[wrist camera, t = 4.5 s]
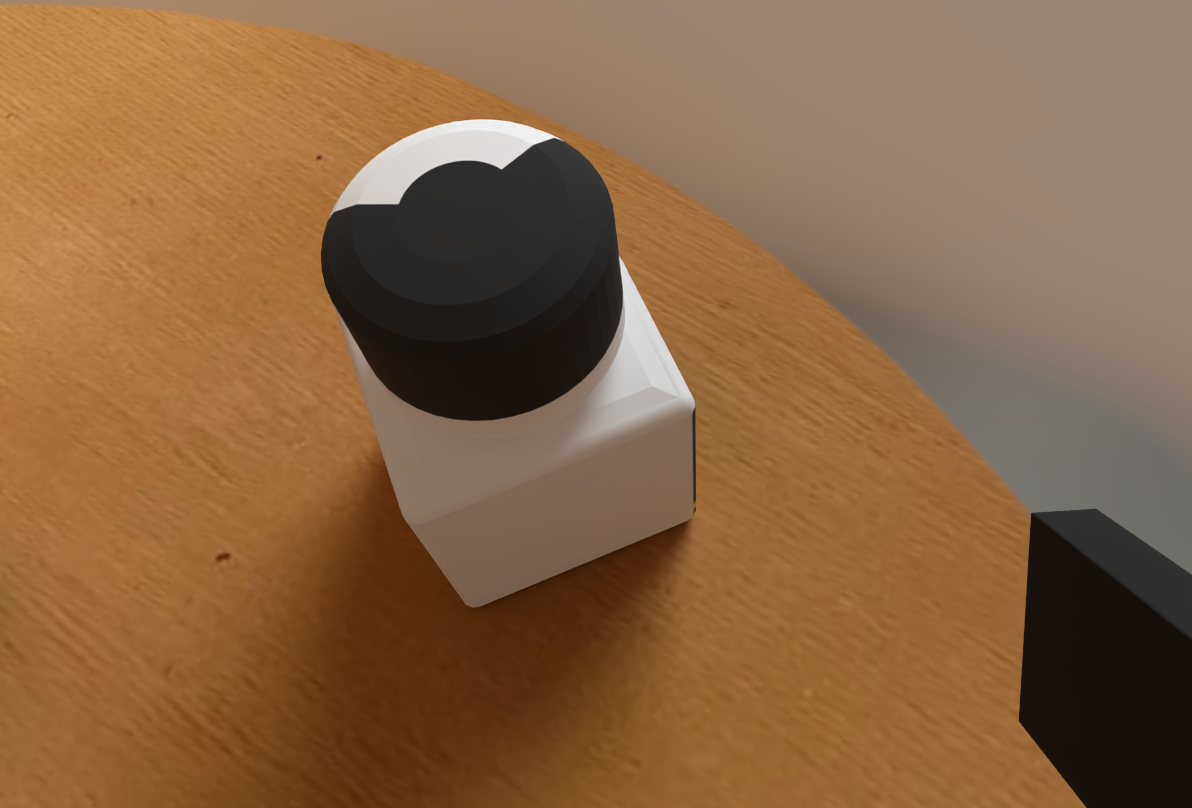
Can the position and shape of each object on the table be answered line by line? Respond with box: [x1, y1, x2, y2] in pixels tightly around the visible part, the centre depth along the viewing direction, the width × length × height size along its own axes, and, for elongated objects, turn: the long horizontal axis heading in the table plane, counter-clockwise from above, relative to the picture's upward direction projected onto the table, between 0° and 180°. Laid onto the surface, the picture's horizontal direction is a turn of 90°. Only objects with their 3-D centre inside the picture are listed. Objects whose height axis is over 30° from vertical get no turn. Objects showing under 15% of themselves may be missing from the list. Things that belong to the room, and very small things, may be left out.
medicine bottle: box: [321, 120, 696, 608], centre depth 25 cm, size 7×7×12 cm
